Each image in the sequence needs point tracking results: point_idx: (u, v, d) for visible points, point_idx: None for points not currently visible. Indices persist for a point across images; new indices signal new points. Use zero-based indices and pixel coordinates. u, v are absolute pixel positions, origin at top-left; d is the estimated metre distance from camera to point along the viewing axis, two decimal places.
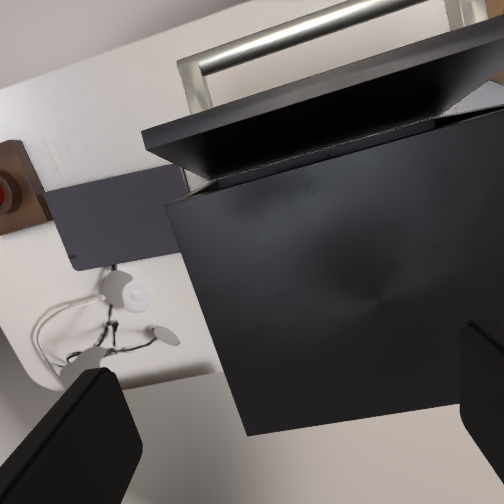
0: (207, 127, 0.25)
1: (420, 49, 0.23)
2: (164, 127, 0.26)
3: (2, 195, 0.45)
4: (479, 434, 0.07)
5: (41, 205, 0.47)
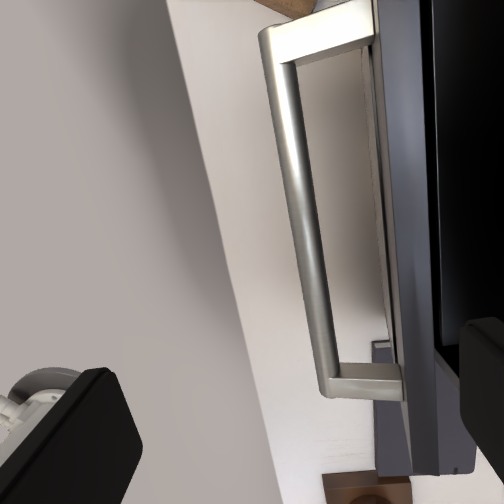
0: (432, 409, 0.19)
1: (400, 123, 0.14)
2: (416, 450, 0.20)
3: None
4: (479, 434, 0.07)
5: (392, 481, 0.44)
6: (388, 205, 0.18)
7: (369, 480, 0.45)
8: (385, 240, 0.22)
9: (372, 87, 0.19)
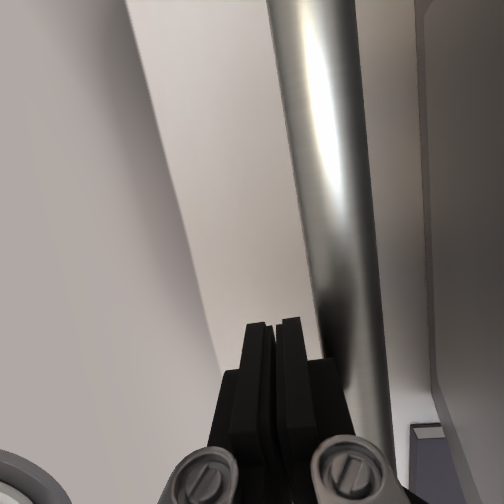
0: None
1: None
2: None
3: None
4: None
5: None
6: None
7: None
8: None
9: None
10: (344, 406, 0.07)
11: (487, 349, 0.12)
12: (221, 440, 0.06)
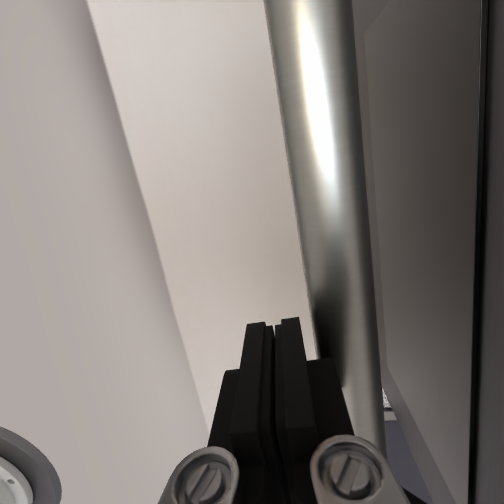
0: None
1: None
2: None
3: None
4: None
5: None
6: None
7: None
8: (474, 334, 0.11)
9: (482, 30, 0.09)
10: (343, 406, 0.07)
11: (444, 334, 0.14)
12: (221, 440, 0.06)
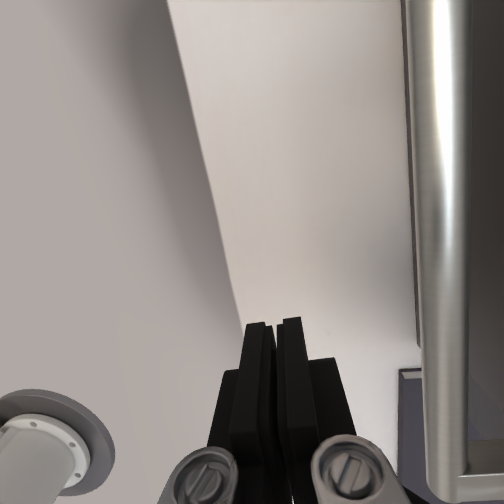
0: None
1: None
2: None
3: None
4: None
5: None
6: None
7: None
8: None
9: None
10: (345, 406, 0.07)
11: (499, 271, 0.17)
12: (221, 440, 0.06)
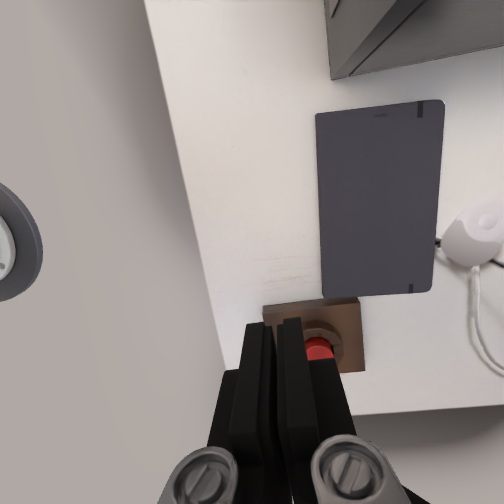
0: None
1: None
2: None
3: (321, 339, 0.38)
4: None
5: (339, 303, 0.39)
6: None
7: (314, 305, 0.40)
8: None
9: None
10: (345, 406, 0.07)
11: None
12: (221, 440, 0.06)
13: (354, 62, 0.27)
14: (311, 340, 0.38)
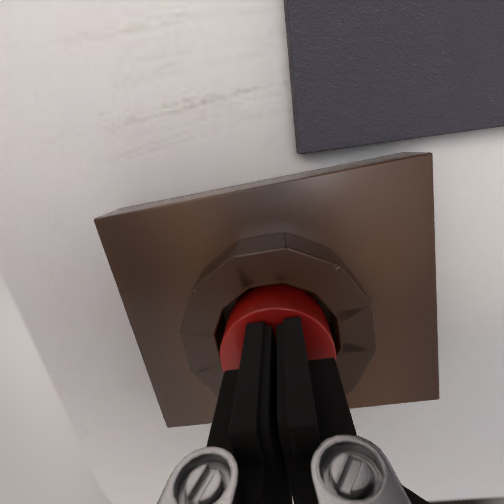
0: None
1: None
2: None
3: (291, 288, 0.11)
4: None
5: (353, 166, 0.11)
6: None
7: (267, 182, 0.12)
8: None
9: None
10: (345, 406, 0.07)
11: None
12: (221, 440, 0.06)
13: None
14: (254, 293, 0.10)
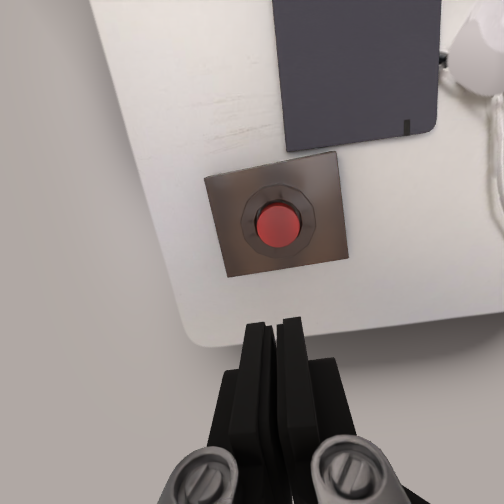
0: None
1: None
2: None
3: (283, 203, 0.27)
4: None
5: (307, 156, 0.28)
6: None
7: (274, 163, 0.29)
8: None
9: None
10: (345, 406, 0.07)
11: None
12: (221, 440, 0.06)
13: None
14: (269, 205, 0.27)
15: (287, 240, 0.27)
